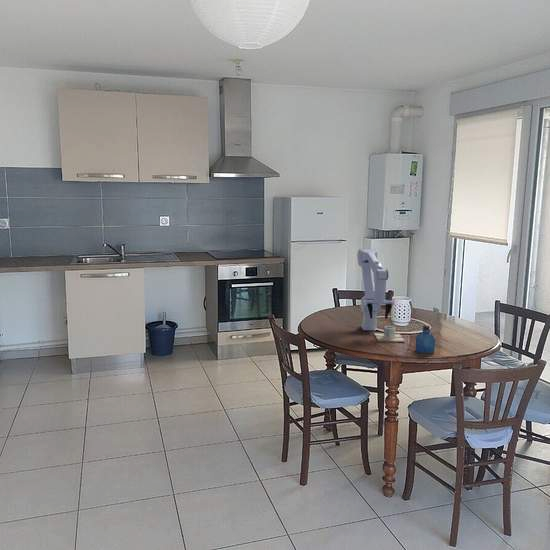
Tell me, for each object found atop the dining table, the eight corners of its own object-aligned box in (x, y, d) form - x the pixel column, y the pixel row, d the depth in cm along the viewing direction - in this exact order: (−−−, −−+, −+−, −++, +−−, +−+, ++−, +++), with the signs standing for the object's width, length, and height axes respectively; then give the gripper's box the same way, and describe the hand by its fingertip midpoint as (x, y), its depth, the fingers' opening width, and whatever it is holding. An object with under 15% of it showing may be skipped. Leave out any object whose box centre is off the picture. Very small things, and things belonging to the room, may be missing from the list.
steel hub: (382, 335, 273) (383, 325, 272) (393, 335, 273) (394, 326, 272) (384, 338, 268) (385, 328, 267) (395, 338, 268) (396, 328, 267)
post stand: (374, 334, 277) (374, 323, 276) (399, 335, 277) (399, 324, 276) (378, 342, 264) (379, 330, 263) (404, 342, 264) (405, 330, 263)
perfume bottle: (422, 353, 247) (424, 328, 245) (415, 349, 253) (417, 325, 251) (434, 352, 249) (435, 327, 247) (426, 348, 255) (428, 324, 253)
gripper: (366, 293, 267) (365, 319, 270) (395, 294, 267) (394, 320, 269) (364, 290, 274) (363, 316, 277) (392, 291, 274) (391, 317, 276)
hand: (378, 318), depth 274 cm, fingers open, 7 cm apart
